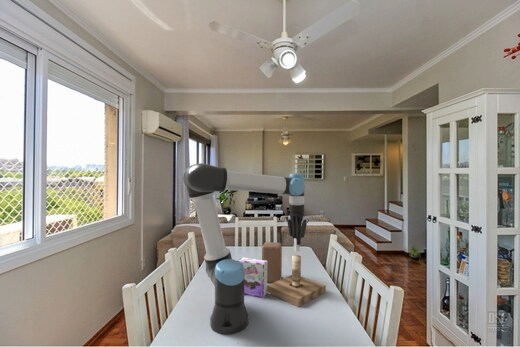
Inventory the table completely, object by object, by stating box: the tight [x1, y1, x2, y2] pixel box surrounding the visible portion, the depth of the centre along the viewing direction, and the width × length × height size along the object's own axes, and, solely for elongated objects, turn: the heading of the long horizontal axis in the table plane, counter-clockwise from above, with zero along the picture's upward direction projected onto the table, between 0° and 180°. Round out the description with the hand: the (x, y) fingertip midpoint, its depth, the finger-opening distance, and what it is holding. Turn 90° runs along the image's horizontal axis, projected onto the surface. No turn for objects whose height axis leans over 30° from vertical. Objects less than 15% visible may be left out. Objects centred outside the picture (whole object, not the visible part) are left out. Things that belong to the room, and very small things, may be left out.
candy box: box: [238, 256, 268, 299], centre depth 130 cm, size 14×6×16 cm, turn 68°
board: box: [267, 274, 326, 308], centre depth 131 cm, size 22×20×4 cm
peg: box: [291, 254, 302, 288], centre depth 131 cm, size 5×5×18 cm
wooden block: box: [261, 241, 283, 284], centre depth 146 cm, size 10×10×20 cm
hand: (296, 250), depth 131 cm, fingers closed
